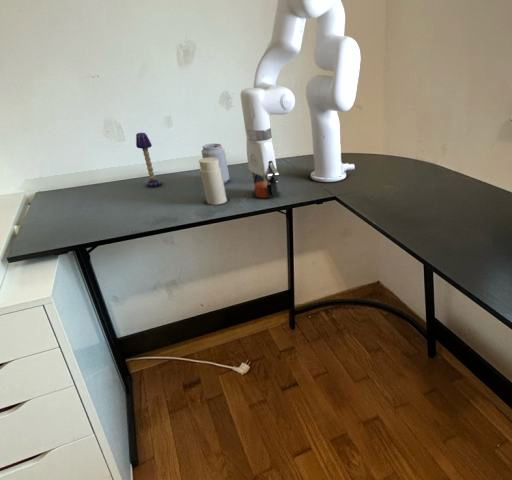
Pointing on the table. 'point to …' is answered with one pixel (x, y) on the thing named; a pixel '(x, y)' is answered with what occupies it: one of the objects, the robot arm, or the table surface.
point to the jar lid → (261, 189)
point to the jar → (212, 181)
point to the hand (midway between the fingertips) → (266, 193)
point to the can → (219, 153)
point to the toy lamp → (147, 157)
